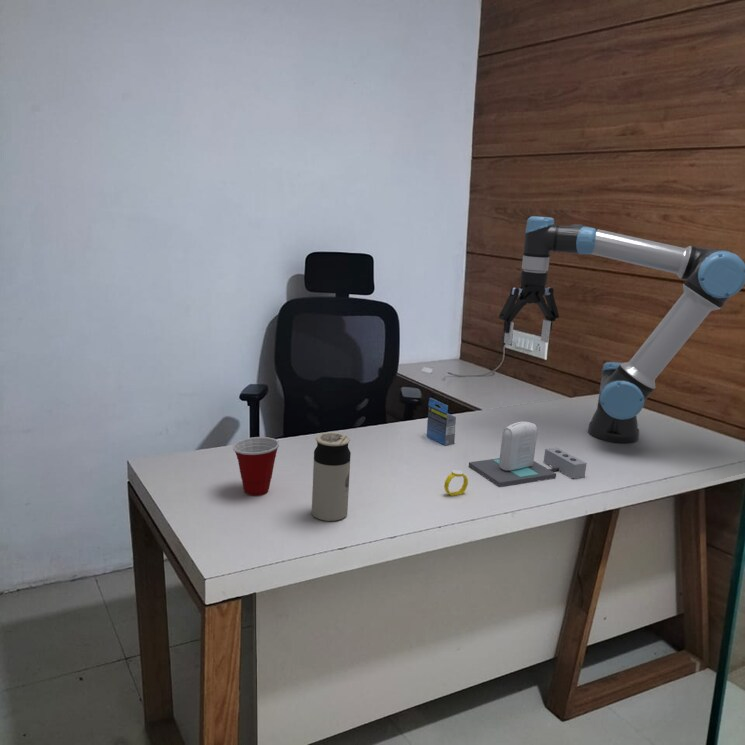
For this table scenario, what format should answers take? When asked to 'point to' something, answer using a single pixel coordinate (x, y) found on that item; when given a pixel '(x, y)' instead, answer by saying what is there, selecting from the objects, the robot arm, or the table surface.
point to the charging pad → (510, 472)
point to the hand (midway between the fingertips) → (526, 342)
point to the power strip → (565, 462)
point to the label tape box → (440, 423)
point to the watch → (453, 474)
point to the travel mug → (331, 476)
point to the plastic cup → (256, 463)
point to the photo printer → (518, 446)
